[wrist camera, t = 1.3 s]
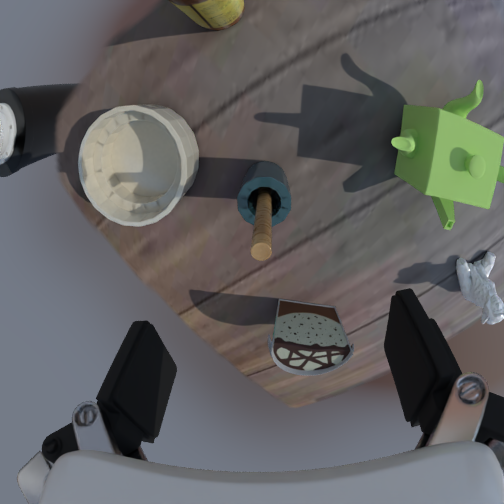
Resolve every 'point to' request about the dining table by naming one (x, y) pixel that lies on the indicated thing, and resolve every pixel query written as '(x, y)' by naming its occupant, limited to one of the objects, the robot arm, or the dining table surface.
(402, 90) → the dining table surface
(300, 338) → the food container
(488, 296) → the sitting furry creature
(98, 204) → the bowl
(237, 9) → the sauce bottle
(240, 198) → the crock
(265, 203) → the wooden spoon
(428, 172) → the kettle
